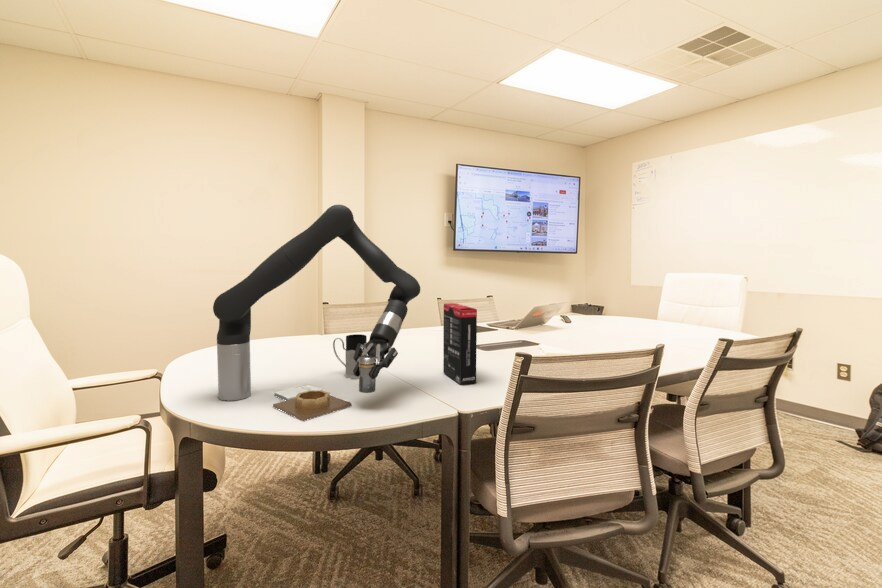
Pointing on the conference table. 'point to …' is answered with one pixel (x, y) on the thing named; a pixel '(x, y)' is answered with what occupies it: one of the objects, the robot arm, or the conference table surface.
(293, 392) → the external hard drive
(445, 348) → the graphics card box
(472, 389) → the conference table surface
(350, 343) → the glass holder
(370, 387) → the cylinder
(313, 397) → the octagon frame base plate
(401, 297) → the robot arm
